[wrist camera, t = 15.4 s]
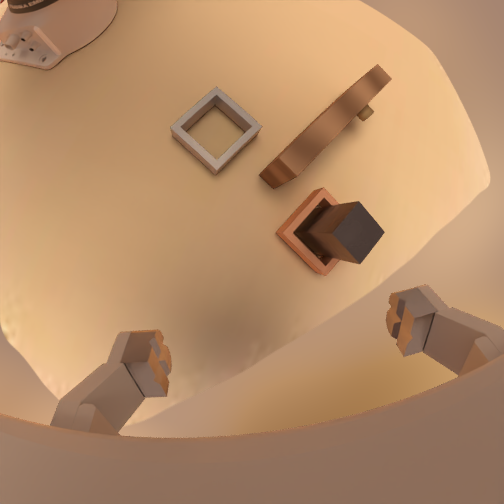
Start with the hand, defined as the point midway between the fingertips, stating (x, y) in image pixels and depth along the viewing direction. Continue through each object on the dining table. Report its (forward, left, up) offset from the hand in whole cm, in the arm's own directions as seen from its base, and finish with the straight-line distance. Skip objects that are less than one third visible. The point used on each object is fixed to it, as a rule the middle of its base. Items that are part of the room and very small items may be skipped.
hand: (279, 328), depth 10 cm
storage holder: (-4, +14, -25) cm, 29 cm away
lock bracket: (+10, +6, -25) cm, 28 cm away
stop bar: (+10, +6, -25) cm, 28 cm away
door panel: (+7, +18, -25) cm, 32 cm away
